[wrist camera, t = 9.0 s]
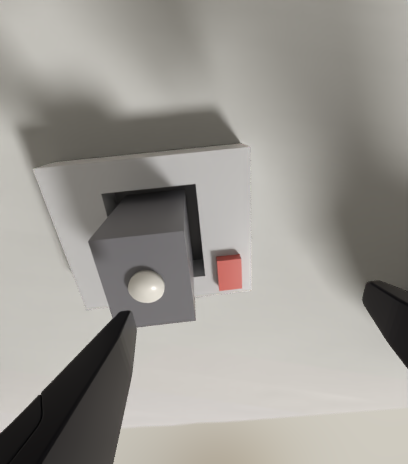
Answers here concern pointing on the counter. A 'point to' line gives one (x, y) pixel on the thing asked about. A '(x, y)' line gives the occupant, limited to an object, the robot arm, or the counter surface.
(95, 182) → the socket
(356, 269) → the counter surface
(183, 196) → the plug
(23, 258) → the counter surface
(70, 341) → the counter surface
